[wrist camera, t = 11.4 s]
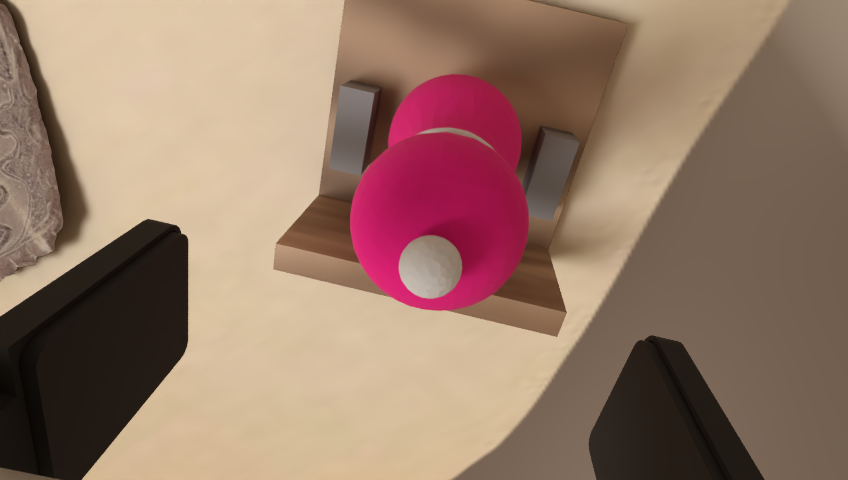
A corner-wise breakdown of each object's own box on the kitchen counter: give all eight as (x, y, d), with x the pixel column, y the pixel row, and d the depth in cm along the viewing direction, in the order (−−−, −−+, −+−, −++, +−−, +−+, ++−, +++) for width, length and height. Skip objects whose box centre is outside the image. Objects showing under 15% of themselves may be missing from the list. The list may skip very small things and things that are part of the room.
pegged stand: (356, -40, 30) (305, -62, 21) (621, 23, 30) (680, 27, 21) (322, 208, 36) (273, 269, 28) (538, 260, 36) (557, 336, 28)
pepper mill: (396, 175, 33) (294, 371, 15) (405, 60, 30) (291, 129, 12) (505, 189, 33) (538, 406, 15) (526, 73, 30) (598, 166, 12)
